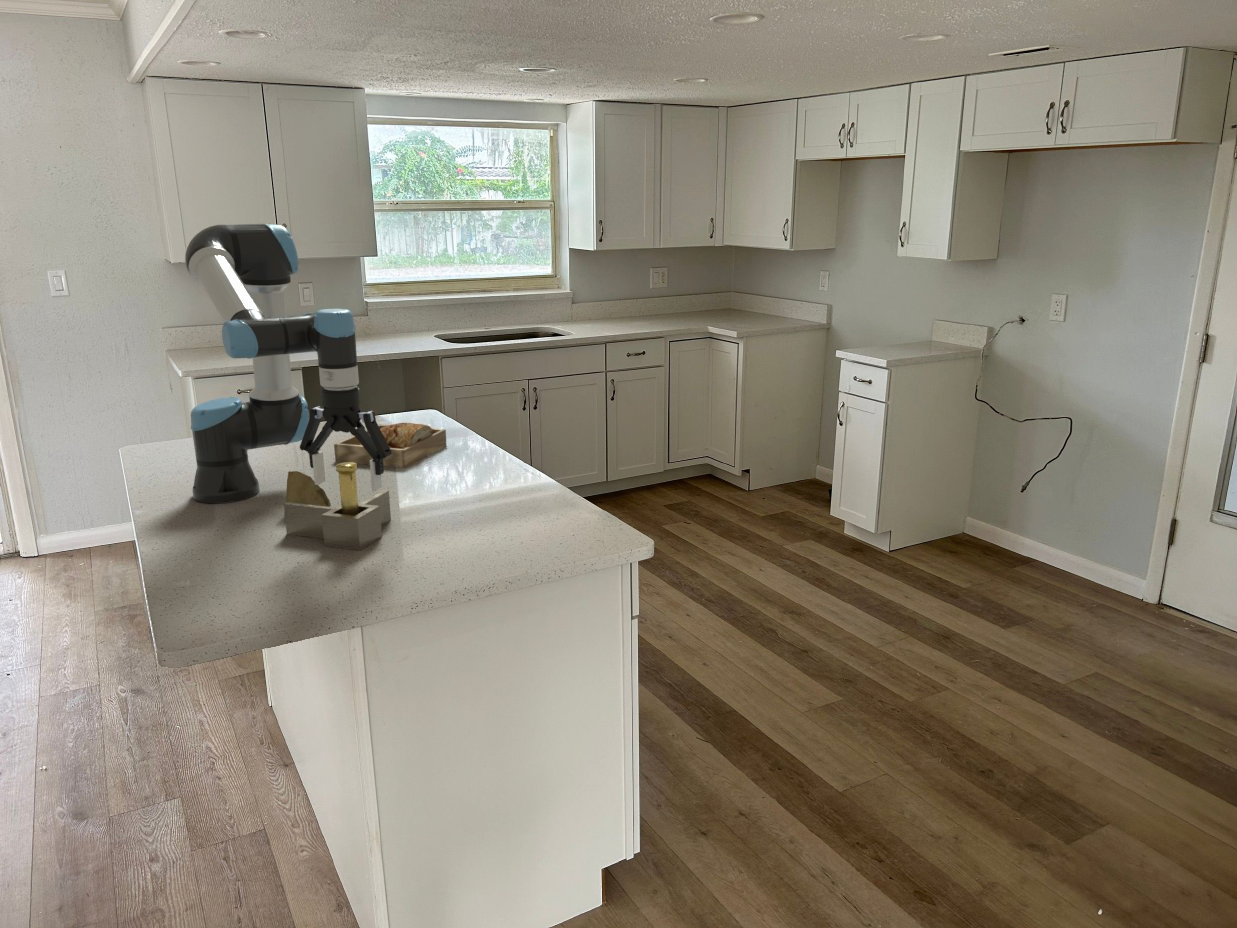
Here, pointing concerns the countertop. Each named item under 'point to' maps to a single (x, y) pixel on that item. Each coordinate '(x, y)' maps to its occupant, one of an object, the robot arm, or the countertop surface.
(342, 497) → the hinge pin
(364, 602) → the countertop surface
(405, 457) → the bread crate
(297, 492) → the rock
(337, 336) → the robot arm
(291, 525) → the hinge
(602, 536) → the countertop surface
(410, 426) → the bread
